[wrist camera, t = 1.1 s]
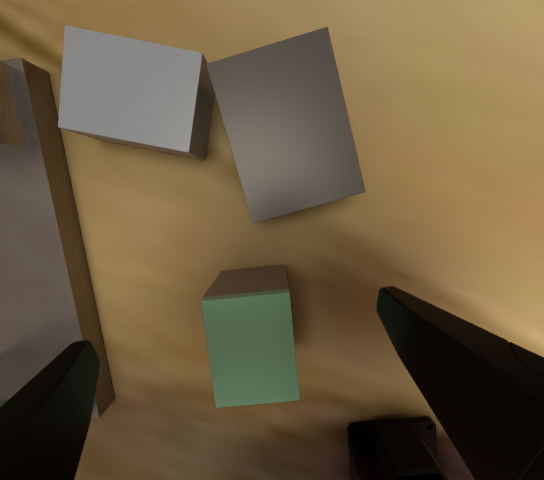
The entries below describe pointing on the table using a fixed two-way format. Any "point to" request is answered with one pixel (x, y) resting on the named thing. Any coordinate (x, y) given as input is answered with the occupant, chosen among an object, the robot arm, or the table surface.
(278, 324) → the block
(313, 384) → the table surface
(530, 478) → the robot arm
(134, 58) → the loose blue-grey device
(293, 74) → the loose grey block
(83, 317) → the rail
